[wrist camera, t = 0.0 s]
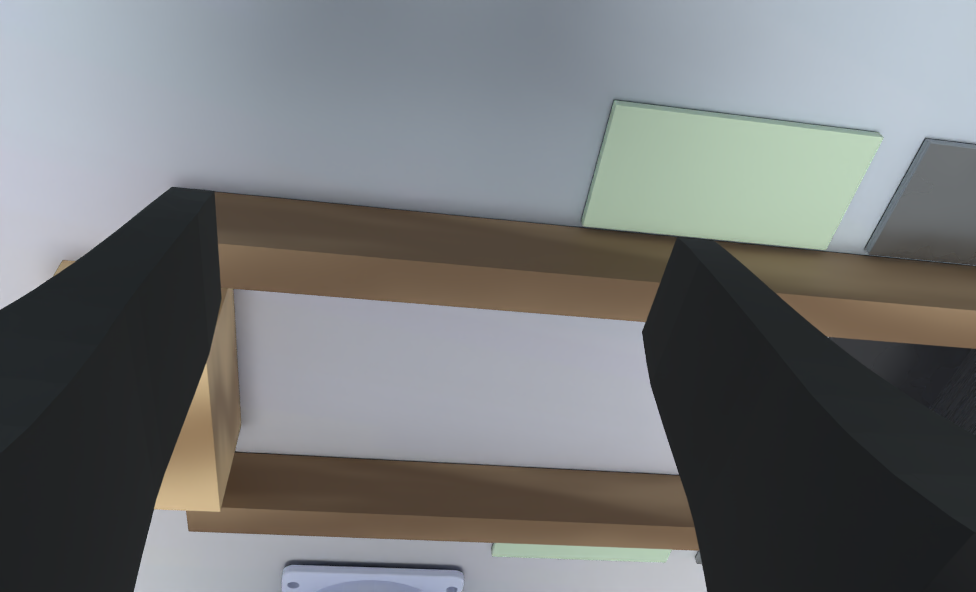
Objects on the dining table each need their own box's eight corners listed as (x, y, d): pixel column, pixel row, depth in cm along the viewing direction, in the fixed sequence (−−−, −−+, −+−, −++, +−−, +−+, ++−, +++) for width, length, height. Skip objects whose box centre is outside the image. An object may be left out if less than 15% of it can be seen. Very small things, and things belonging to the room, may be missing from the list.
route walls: (844, 506, 35) (869, 557, 33) (203, 476, 31) (188, 531, 29) (1011, 269, 27) (1057, 317, 25) (174, 188, 23) (150, 237, 21)
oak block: (241, 421, 29) (220, 511, 26) (99, 412, 29) (59, 505, 25) (233, 270, 25) (206, 357, 22) (64, 256, 24) (11, 344, 21)
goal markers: (663, 556, 36) (665, 562, 36) (491, 550, 35) (492, 556, 35) (878, 132, 23) (883, 137, 23) (614, 100, 22) (616, 104, 22)
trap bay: (845, 563, 38) (872, 623, 35) (695, 557, 36) (713, 619, 34) (1146, 165, 24) (1222, 219, 22) (925, 138, 23) (981, 191, 21)
